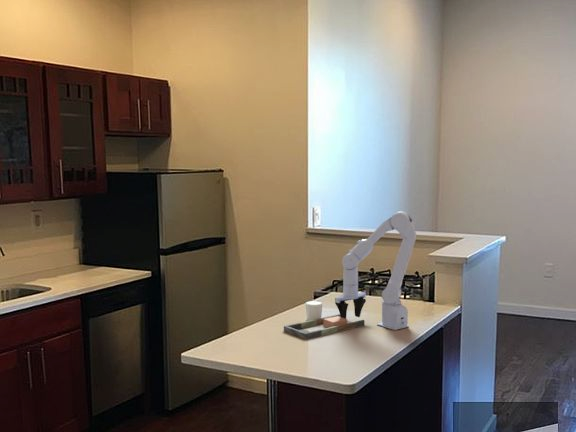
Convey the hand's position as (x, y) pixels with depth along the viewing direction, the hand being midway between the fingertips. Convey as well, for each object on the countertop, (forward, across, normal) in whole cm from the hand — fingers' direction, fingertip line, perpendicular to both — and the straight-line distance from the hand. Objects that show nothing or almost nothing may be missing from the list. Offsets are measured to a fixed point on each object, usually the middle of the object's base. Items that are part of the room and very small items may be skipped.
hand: (350, 318), depth 238 cm
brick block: (+2, +8, 0) cm, 8 cm away
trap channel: (+2, +13, 0) cm, 13 cm away
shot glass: (+2, +9, -12) cm, 15 cm away
